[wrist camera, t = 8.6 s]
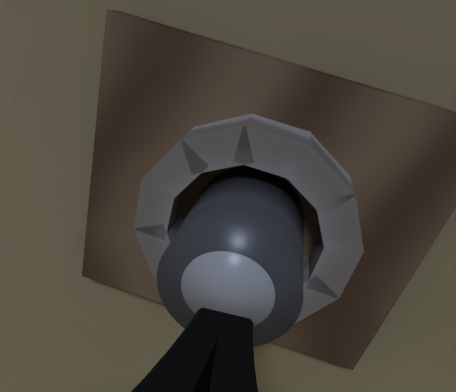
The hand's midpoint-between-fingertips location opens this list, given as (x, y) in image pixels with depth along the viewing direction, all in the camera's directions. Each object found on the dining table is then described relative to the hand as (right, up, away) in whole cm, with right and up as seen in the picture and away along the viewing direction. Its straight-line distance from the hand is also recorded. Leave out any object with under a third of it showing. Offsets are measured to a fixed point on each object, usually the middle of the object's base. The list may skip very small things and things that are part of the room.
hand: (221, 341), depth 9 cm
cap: (+1, +3, +8) cm, 8 cm away
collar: (+1, +3, +9) cm, 9 cm away
